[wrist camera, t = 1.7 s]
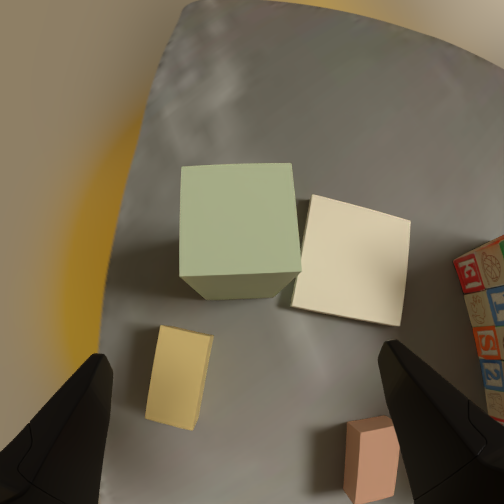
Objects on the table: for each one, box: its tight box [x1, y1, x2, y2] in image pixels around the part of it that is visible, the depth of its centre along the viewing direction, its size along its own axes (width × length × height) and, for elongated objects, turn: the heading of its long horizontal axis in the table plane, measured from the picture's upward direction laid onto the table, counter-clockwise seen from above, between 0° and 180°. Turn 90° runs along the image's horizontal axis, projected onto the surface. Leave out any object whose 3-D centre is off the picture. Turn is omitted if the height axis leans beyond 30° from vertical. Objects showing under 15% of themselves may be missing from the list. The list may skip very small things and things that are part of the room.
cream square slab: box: [290, 194, 410, 326], centre depth 22 cm, size 8×8×2 cm
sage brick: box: [179, 163, 302, 300], centre depth 17 cm, size 4×4×10 cm
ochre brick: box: [145, 325, 214, 431], centre depth 19 cm, size 6×3×3 cm, turn 169°
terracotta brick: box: [343, 415, 400, 504], centre depth 18 cm, size 6×3×3 cm, turn 1°
